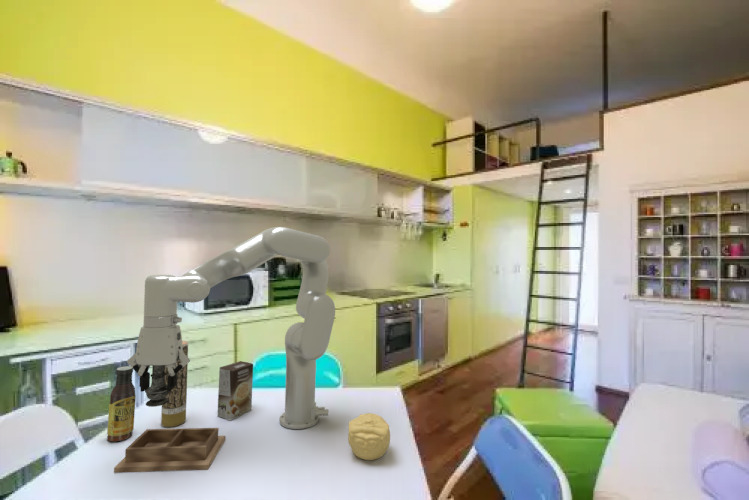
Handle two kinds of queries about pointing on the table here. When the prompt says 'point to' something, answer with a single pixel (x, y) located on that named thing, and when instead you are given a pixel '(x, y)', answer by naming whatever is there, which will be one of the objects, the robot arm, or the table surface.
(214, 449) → the condiment rack
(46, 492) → the table surface
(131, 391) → the sauce bottle
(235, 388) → the coffee box
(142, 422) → the table surface
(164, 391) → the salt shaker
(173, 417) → the paper tube
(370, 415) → the sculpture
